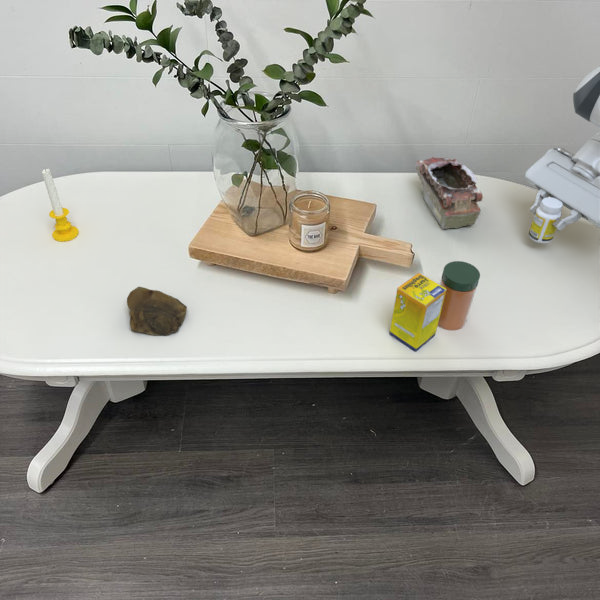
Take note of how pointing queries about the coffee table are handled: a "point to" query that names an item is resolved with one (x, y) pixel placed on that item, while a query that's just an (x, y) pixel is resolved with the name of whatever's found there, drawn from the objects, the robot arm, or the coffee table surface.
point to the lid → (460, 276)
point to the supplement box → (417, 311)
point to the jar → (455, 308)
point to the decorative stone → (154, 312)
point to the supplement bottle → (545, 220)
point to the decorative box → (449, 191)
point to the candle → (58, 212)
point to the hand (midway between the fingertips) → (544, 220)
